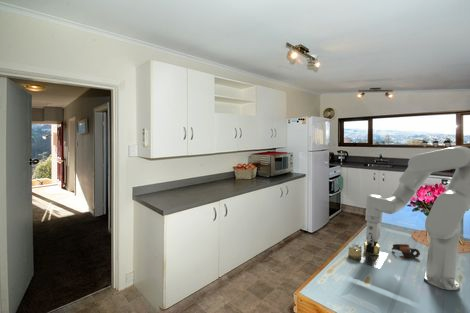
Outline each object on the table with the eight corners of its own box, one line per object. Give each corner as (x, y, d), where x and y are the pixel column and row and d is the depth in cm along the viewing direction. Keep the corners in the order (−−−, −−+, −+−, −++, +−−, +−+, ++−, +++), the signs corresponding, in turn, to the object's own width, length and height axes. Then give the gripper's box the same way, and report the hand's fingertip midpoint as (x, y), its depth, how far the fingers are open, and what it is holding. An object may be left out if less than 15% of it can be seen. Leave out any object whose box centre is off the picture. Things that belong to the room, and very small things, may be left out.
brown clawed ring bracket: (393, 260, 123) (390, 243, 127) (395, 261, 130) (391, 245, 134) (422, 261, 117) (417, 243, 120) (422, 262, 124) (418, 245, 127)
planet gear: (377, 256, 122) (377, 248, 122) (362, 251, 127) (362, 244, 127) (380, 251, 127) (381, 244, 127) (366, 247, 132) (366, 240, 132)
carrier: (379, 272, 112) (380, 258, 111) (344, 259, 123) (344, 247, 122) (388, 256, 126) (389, 244, 126) (356, 246, 137) (356, 235, 137)
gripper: (377, 224, 117) (375, 258, 118) (385, 215, 129) (383, 246, 131) (361, 220, 122) (359, 253, 123) (370, 212, 134) (368, 242, 136)
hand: (371, 249), depth 127 cm, fingers open, 7 cm apart
